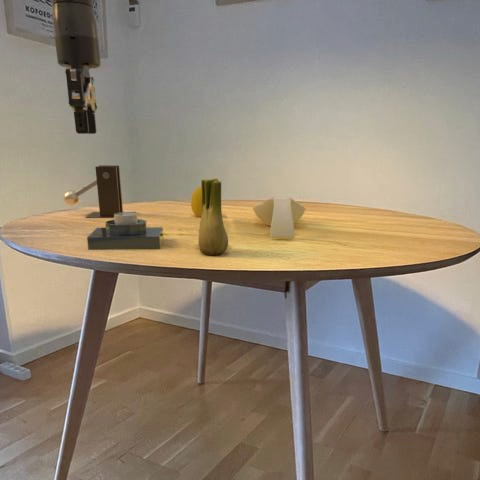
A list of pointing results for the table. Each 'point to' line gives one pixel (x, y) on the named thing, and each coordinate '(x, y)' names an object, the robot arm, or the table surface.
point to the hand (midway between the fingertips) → (87, 133)
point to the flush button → (125, 218)
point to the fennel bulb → (212, 220)
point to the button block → (125, 236)
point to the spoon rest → (280, 216)
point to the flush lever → (77, 193)
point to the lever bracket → (108, 191)
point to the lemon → (197, 201)
